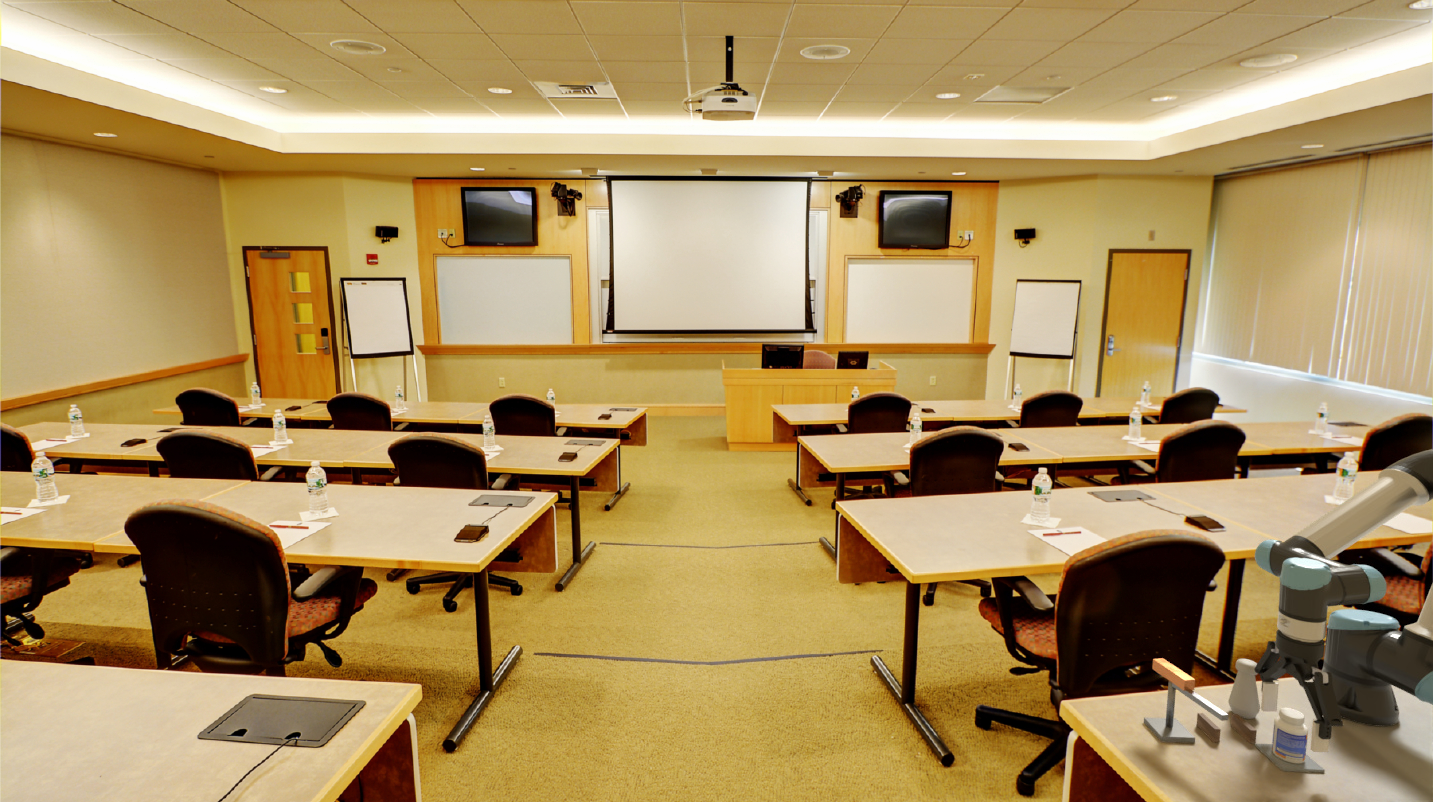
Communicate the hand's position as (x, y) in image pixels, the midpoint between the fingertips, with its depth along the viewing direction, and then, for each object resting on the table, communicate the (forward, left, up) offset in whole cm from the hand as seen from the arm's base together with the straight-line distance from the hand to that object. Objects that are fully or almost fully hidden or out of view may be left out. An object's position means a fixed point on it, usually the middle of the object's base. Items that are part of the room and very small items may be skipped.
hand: (1292, 729), depth 141 cm
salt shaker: (-1, -15, -6) cm, 16 cm away
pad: (+1, +1, -6) cm, 6 cm away
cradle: (+8, -7, -6) cm, 13 cm away
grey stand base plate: (+20, -7, -6) cm, 22 cm away
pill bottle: (+1, +1, -6) cm, 6 cm away
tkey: (+20, -3, -5) cm, 20 cm away
